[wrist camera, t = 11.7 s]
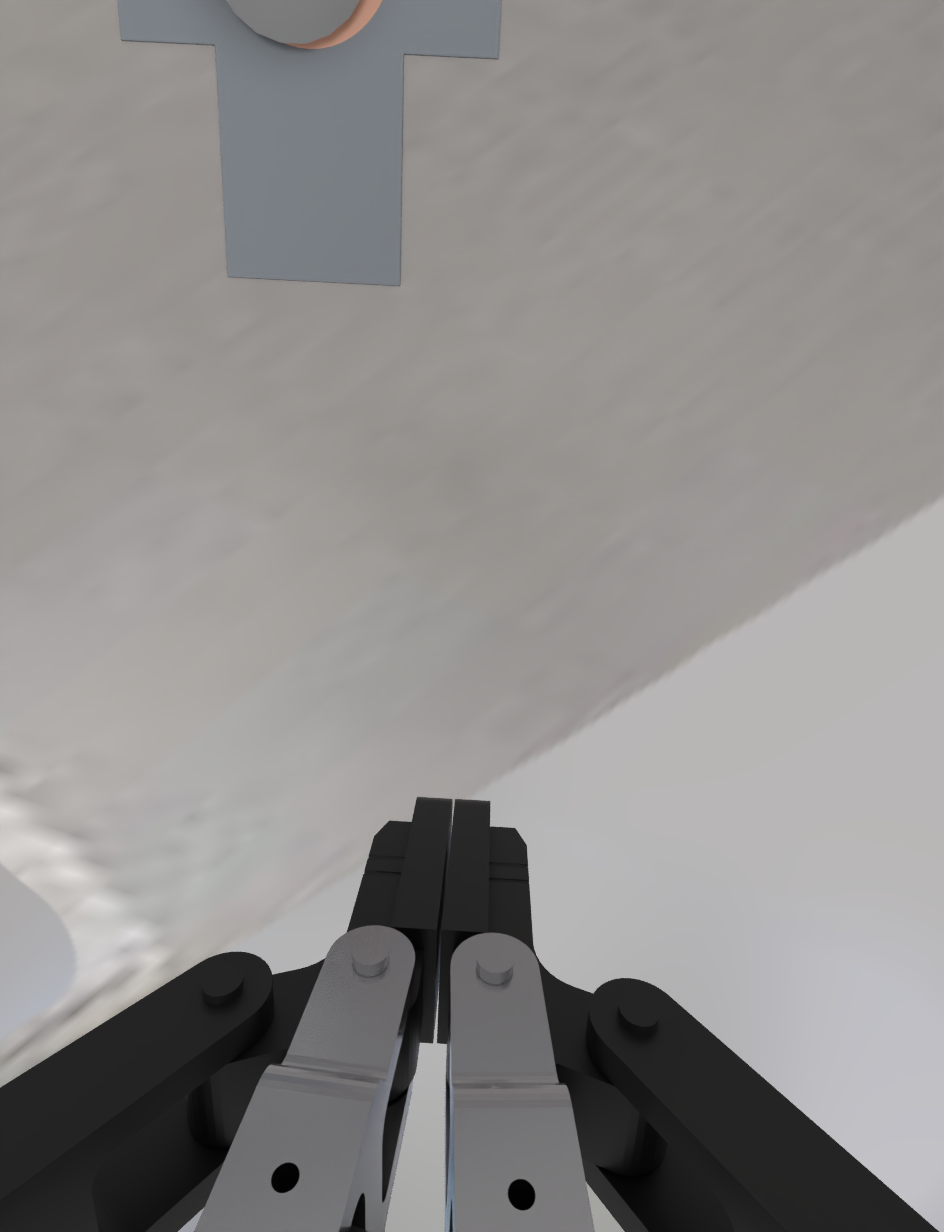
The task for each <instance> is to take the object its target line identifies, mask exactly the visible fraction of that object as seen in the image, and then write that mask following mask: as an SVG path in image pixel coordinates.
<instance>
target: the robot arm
mask: <svg viewBox="0 0 944 1232" xmlns="http://www.w3.org/2000/svg"><path fill="white" fill-rule="evenodd" d="M451 830H452V834H451ZM438 989H439V1005H438V1034H437V1043H441V1044H447V1059H446V1083H445V1232H595V1231H594V1225H593V1219H592V1214H591V1208H590V1203H589V1197H588V1192H587V1186H586V1182H587V1183H588V1185H589V1186H590V1187H591V1188H592V1190H593V1191H594V1193H595V1194H596V1195H597V1196H598V1198H599V1199H600V1200H601V1202H602V1203H603V1204H604V1205H605V1207H606V1208H607V1209H608V1211H609V1212H610V1213H611V1214H612V1216H613V1217H614V1218H615V1220H616V1221H617V1222H618V1223H619V1225H620V1226H621V1227H622V1229H623V1230H624V1231H625V1232H939V1231H938V1230H937V1229H935V1228H934V1227H933V1226H932V1225H931V1224H929V1222H927V1221H926V1220H925V1219H924V1218H923V1217H922V1216H921V1215H919V1214H918V1213H917V1212H916V1211H915V1210H914V1209H913V1208H911V1207H910V1206H909V1205H908V1204H907V1203H906V1202H904V1201H903V1200H902V1199H901V1198H900V1197H899V1196H898V1195H896V1194H895V1193H894V1192H893V1191H892V1190H891V1189H890V1188H889V1187H887V1186H886V1185H885V1184H884V1183H883V1182H882V1181H880V1180H879V1179H878V1178H877V1177H876V1176H875V1175H874V1174H872V1173H871V1172H870V1171H869V1170H868V1169H867V1168H866V1167H864V1166H863V1165H862V1164H861V1163H860V1162H859V1161H858V1160H856V1159H855V1158H854V1157H853V1156H852V1155H851V1154H850V1153H848V1152H847V1151H846V1150H845V1149H844V1148H843V1147H842V1146H840V1145H839V1144H838V1143H837V1142H836V1141H835V1140H833V1139H832V1138H831V1137H830V1136H829V1135H828V1134H827V1133H826V1132H824V1131H823V1130H822V1129H821V1128H820V1127H819V1126H817V1125H816V1124H815V1123H814V1122H813V1121H812V1120H810V1119H809V1118H808V1117H807V1116H806V1115H805V1114H804V1113H803V1112H802V1111H800V1110H799V1109H798V1108H797V1107H796V1106H795V1105H793V1104H792V1103H791V1102H790V1101H789V1100H788V1099H787V1098H785V1097H784V1096H783V1095H782V1094H781V1093H780V1092H779V1091H777V1090H776V1089H775V1088H774V1087H773V1086H772V1085H771V1084H769V1083H768V1082H767V1081H766V1080H765V1079H764V1078H763V1077H761V1076H760V1075H759V1074H758V1073H757V1072H756V1071H754V1070H753V1069H752V1068H751V1067H750V1066H749V1065H748V1064H747V1063H745V1062H744V1061H743V1060H742V1059H741V1058H740V1057H738V1056H737V1055H736V1054H735V1053H734V1052H733V1051H732V1050H731V1049H729V1048H728V1047H727V1046H726V1045H725V1044H724V1043H722V1042H721V1041H720V1040H719V1039H718V1038H717V1037H716V1036H715V1035H713V1034H712V1033H711V1032H710V1031H709V1030H708V1029H706V1028H705V1027H704V1026H703V1025H702V1024H701V1023H700V1022H698V1021H697V1020H696V1019H695V1018H694V1017H693V1016H692V1015H690V1014H689V1013H688V1012H687V1011H686V1010H685V1009H683V1008H682V1007H681V1006H680V1005H679V1004H678V1003H677V1002H676V1001H674V1000H673V999H672V998H671V997H670V996H669V995H667V994H666V993H665V992H663V991H662V990H661V989H659V988H657V987H656V986H654V985H652V984H650V983H647V982H644V981H641V980H636V979H631V978H620V979H614V980H611V981H608V982H606V983H604V984H603V985H601V986H600V987H599V988H597V990H596V991H595V992H594V994H593V993H590V992H587V991H584V990H581V989H579V988H575V987H573V986H571V985H568V984H566V983H564V982H562V981H560V980H559V979H557V978H555V977H554V976H553V975H552V974H550V973H549V972H548V971H547V970H546V969H545V968H544V966H543V965H542V964H541V963H540V961H539V959H538V958H537V956H536V953H535V950H534V946H533V935H532V920H531V904H530V891H529V874H528V859H527V845H526V844H525V842H524V841H523V839H522V838H521V836H520V835H519V833H518V832H517V830H516V829H515V828H505V827H490V801H480V800H463V799H455V806H454V815H453V825H452V799H443V798H426V797H417V800H416V804H415V809H414V814H413V819H412V822H402V821H389V822H388V823H387V824H386V825H385V826H384V827H383V828H382V829H381V830H380V831H379V832H378V833H377V834H376V835H375V836H374V839H373V843H372V846H371V850H370V853H369V859H368V860H367V864H366V867H365V872H364V874H363V878H362V881H361V885H360V888H359V892H358V895H357V899H356V902H355V906H354V909H353V913H352V916H351V920H350V923H349V927H348V930H347V933H345V934H344V935H343V936H341V937H340V938H339V939H338V940H336V941H335V943H334V944H333V945H332V946H331V948H330V950H329V952H328V954H327V956H326V958H325V959H323V960H321V961H320V962H318V963H316V964H313V965H311V966H308V967H305V968H301V969H297V970H293V971H288V972H283V973H278V974H274V975H272V973H271V970H270V968H269V966H268V964H267V963H266V962H265V961H264V960H262V959H261V958H260V957H258V956H256V955H254V954H250V953H246V952H228V953H222V954H219V955H215V956H213V957H210V958H208V959H206V960H204V961H202V962H200V963H199V964H197V965H195V966H194V967H192V968H191V969H189V970H187V971H186V972H184V973H183V974H181V975H179V976H178V977H176V978H175V979H173V980H171V981H170V982H168V983H167V984H165V985H163V986H162V987H160V988H159V989H157V990H155V991H154V992H152V993H151V994H149V995H147V996H146V997H144V998H143V999H141V1000H139V1001H138V1002H136V1003H135V1004H133V1005H132V1006H130V1007H128V1008H127V1009H125V1010H124V1011H122V1012H120V1013H119V1014H117V1015H116V1016H114V1017H112V1018H111V1019H109V1020H108V1021H106V1022H104V1023H103V1024H101V1025H100V1026H98V1027H96V1028H95V1029H93V1030H92V1031H90V1032H88V1033H87V1034H85V1035H84V1036H82V1037H80V1038H79V1039H77V1040H76V1041H74V1042H72V1043H71V1044H69V1045H68V1046H66V1047H65V1048H63V1049H61V1050H60V1051H58V1052H57V1053H55V1054H53V1055H52V1056H50V1057H49V1058H47V1059H45V1060H44V1061H42V1062H41V1063H39V1064H37V1065H36V1066H34V1067H33V1068H31V1069H29V1070H28V1071H26V1072H25V1073H23V1074H21V1075H20V1076H18V1077H17V1078H15V1079H13V1080H12V1081H10V1082H9V1083H7V1084H5V1085H4V1086H2V1087H1V1088H0V1232H178V1231H179V1230H180V1229H181V1228H182V1227H183V1226H184V1225H185V1224H186V1223H187V1222H188V1221H190V1220H191V1219H192V1218H193V1217H194V1216H195V1215H196V1214H197V1213H198V1212H199V1211H200V1210H202V1209H203V1208H204V1210H203V1212H202V1214H201V1217H200V1219H199V1221H198V1224H197V1226H196V1228H195V1231H194V1232H385V1226H386V1220H387V1214H388V1209H389V1204H390V1199H391V1194H392V1188H393V1184H394V1179H395V1174H396V1169H397V1164H398V1159H399V1154H400V1149H401V1144H402V1139H403V1134H404V1130H405V1125H406V1119H407V1114H408V1109H409V1105H410V1099H411V1095H412V1083H413V1082H412V1081H413V1077H414V1075H415V1072H416V1067H417V1060H418V1052H419V1043H420V1042H421V1043H433V1039H434V1029H435V1019H436V1009H437V999H438Z"/></svg>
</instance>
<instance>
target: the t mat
mask: <svg viewBox="0 0 944 1232" xmlns="http://www.w3.org/2000/svg"><path fill="white" fill-rule="evenodd" d="M118 11H119V23H120V34H121V40H122V41H135V42H156V43H176V44H196V45H215V53H216V72H217V90H218V109H219V127H220V146H221V164H222V182H223V201H224V219H225V238H226V256H227V275H228V277H237V278H256V279H275V280H294V281H314V282H333V283H352V284H372V285H391V286H400V260H401V199H402V138H403V77H404V55H420V56H440V57H461V58H481V59H498V53H499V34H500V15H501V0H360V1H359V2H358V4H357V6H356V8H355V9H354V11H353V13H352V14H351V16H350V18H348V19H347V20H346V21H345V22H344V23H343V24H342V25H340V26H339V27H338V28H337V29H336V30H335V31H334V32H332V33H331V34H330V35H328V36H325V37H323V38H320V39H317V40H315V41H312V42H309V43H307V44H299V43H280V42H277V41H275V40H272V39H270V38H268V37H265V36H263V35H260V34H258V33H256V32H255V31H254V30H253V29H251V28H250V27H249V26H248V25H247V24H246V23H245V22H243V21H242V20H241V19H240V18H239V17H238V16H237V15H235V13H234V12H233V10H232V9H231V7H230V6H229V4H228V3H227V1H226V0H118Z"/></svg>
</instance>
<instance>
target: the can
mask: <svg viewBox="0 0 944 1232" xmlns="http://www.w3.org/2000/svg"><path fill="white" fill-rule="evenodd" d="M226 1H227V3H228V4H229V6H230V7H231V9H232V10H233V12H234V13H235V15H237V16H238V17H239V18H240V19H241V20H242V21H243V22H245V23H246V24H247V25H248V26H249V27H250V28H251V29H253V30H254V31H255V32H256V33H258V34H260V35H263V36H265V37H268V38H270V39H272V40H275V41H277V42H280V43H299V44H307V43H309V42H312V41H315V40H317V39H320V38H323V37H325V36H328V35H330V34H331V33H332V32H334V31H335V30H336V29H337V28H338V27H339V26H340V25H342V24H343V23H344V22H345V21H346V20H347V19H348V18H350V16H351V14H352V13H353V11H354V9H355V8H356V6H357V4H358V2H359V1H360V0H226Z"/></svg>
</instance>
